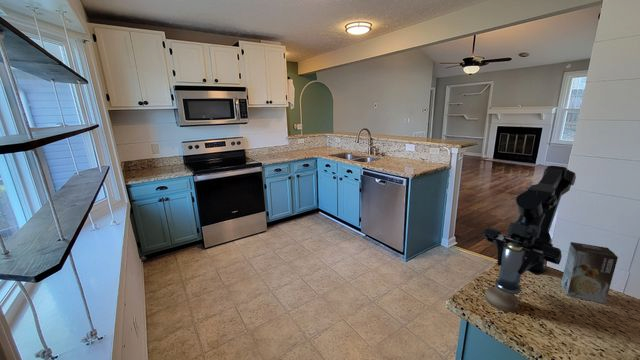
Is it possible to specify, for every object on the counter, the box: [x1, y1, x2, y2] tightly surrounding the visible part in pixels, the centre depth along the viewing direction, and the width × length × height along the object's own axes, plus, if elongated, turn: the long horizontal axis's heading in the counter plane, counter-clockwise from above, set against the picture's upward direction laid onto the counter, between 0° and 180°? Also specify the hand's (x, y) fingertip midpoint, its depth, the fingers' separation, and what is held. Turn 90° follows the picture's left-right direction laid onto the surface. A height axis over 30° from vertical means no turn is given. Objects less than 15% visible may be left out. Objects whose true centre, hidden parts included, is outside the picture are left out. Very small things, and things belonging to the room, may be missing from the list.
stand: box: [484, 286, 519, 312], centre depth 82 cm, size 8×8×2 cm
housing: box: [494, 243, 526, 295], centre depth 79 cm, size 6×6×14 cm
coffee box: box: [560, 241, 619, 304], centre depth 83 cm, size 9×6×16 cm
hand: (509, 269), depth 78 cm, fingers closed on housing, 5 cm apart
